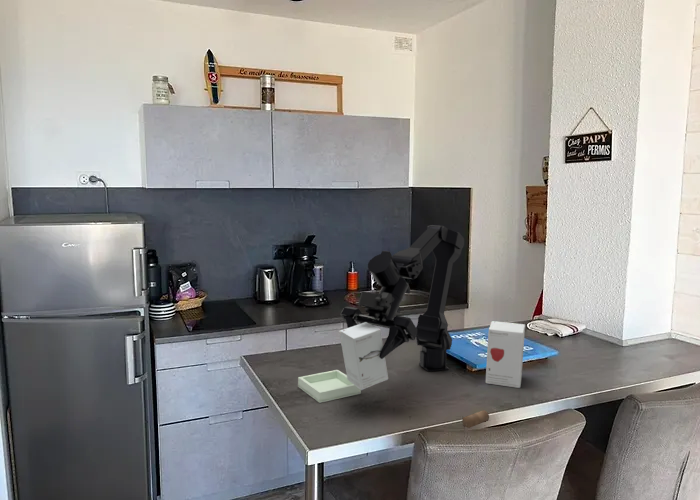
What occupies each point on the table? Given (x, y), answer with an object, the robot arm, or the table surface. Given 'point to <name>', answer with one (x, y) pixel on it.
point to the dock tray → (327, 386)
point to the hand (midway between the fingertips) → (363, 353)
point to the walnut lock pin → (475, 419)
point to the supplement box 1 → (363, 355)
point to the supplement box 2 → (505, 354)
